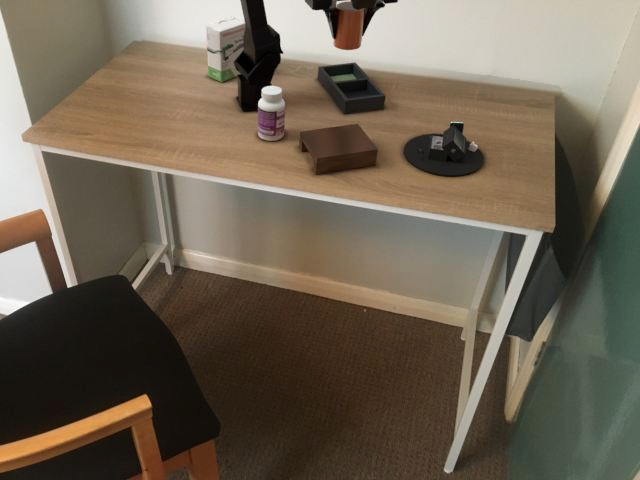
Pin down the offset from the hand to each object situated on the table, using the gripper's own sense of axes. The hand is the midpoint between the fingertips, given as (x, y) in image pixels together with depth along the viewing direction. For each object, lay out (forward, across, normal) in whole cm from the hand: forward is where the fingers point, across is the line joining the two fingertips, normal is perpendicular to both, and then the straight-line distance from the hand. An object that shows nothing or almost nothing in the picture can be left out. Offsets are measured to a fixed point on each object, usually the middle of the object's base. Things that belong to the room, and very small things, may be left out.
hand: (347, 37), depth 131 cm
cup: (+2, 0, 0) cm, 2 cm away
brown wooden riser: (+11, -12, -28) cm, 32 cm away
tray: (+11, 0, -4) cm, 12 cm away
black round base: (+12, +8, -33) cm, 36 cm away
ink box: (+12, -24, +13) cm, 30 cm away
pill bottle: (+12, -22, -17) cm, 30 cm away
